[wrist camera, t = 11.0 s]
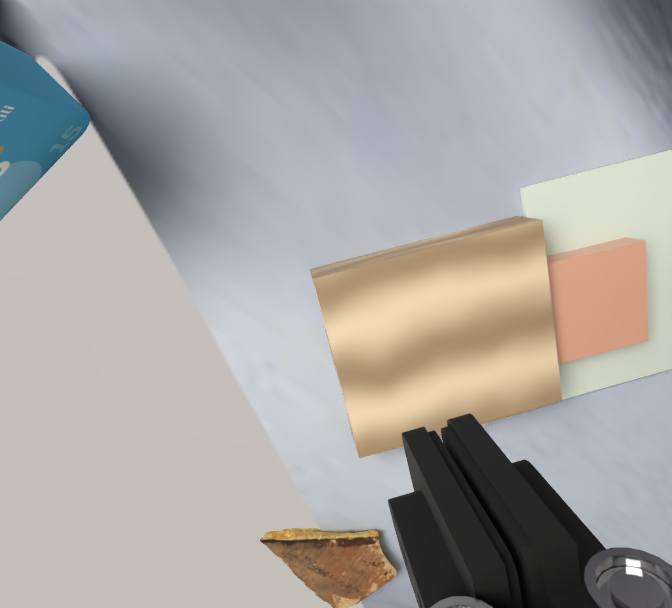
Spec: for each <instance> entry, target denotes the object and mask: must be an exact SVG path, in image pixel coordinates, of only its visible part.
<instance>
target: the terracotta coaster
mask: <svg viewBox="0 0 672 608" xmlns="http://www.w3.org/2000/svg"><path fill="white" fill-rule="evenodd" d="M546 257H547V266H548V275H549V284H550V293H551V303H552V312H553V321H554V330H555V339H556V348H557V357H558V364H560V363H564V362H567V361H571V360H575V359H579V358H583V357H587V356H591V355H595V354H599V353H603V352H607V351H611V350H614V349H618V348H622V347H626V346H630V345H634V344H638V343H642V342H646V341H648V308H647V272H646V240H640V239H634V238H627V237H625V238H621V239H617V240H612V241H608V242H604V243H600V244H596V245H592V246H587V247H583V248H579V249H575V250H571V251H567V252H563V253H558V254H554V255H550V256H546Z"/></svg>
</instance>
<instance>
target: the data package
mask: <svg viewBox="0 0 672 608" xmlns="http://www.w3.org/2000/svg"><path fill="white" fill-rule="evenodd" d="M89 122H90V115H89V113H88V112H87V111H86V110H85V109H84V108H83V107H82V106H81V105H80V104H79V103H78V102H77V101H76V100H75V99H74V98H73V97H72V96H71V95H70V94H69V93H68V92H67V91H66V90H65V89H64V88H63V87H61V86H60V85H59V84H58V83H57V82H56V81H55V80H54V79H53V78H52V77H51V76H50V75H49V74H48V73H47V72H46V71H45V70H44V69H43V68H42V67H41V66H40V65H39V64H38V63H37V62H36V61H35V60H34V59H33V58H32V57H30V56H29V55H27V54H25V53H23V52H21V51H19V50H17V49H15V48H13V47H11V46H9V45H7V44H6V43H4V42H2V41H0V220H1V219H2V218H3V217H4V216H5V215H6V214H7V213H8V212H9V211H10V210H11V209H12V208H13V207H14V206H15V204H16V203H18V201H19V200H20V199H21V198H22V197H23V196H24V195H25V194H26V193H27V192H28V191H29V190H30V189H31V188H32V187H33V186H34V185H35V184H36V182H37V181H38V180H39V179H40V178H41V177H42V176H43V175H44V174H45V173H46V172H47V171H48V170H49V169H50V168H51V167H52V166H53V165H54V164H55V163H56V161H57V160H58V159H59V158H60V157H61V156H62V155H63V154H64V153H65V152H66V151H67V150H68V149H69V148H70V147H71V145H73V144H74V142H75V141H76V140H77V139H78V138H79V137H80V136H81V135H82V134H83V133H84V131H85V130H86V129H87V127H88V125H89Z"/></svg>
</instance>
